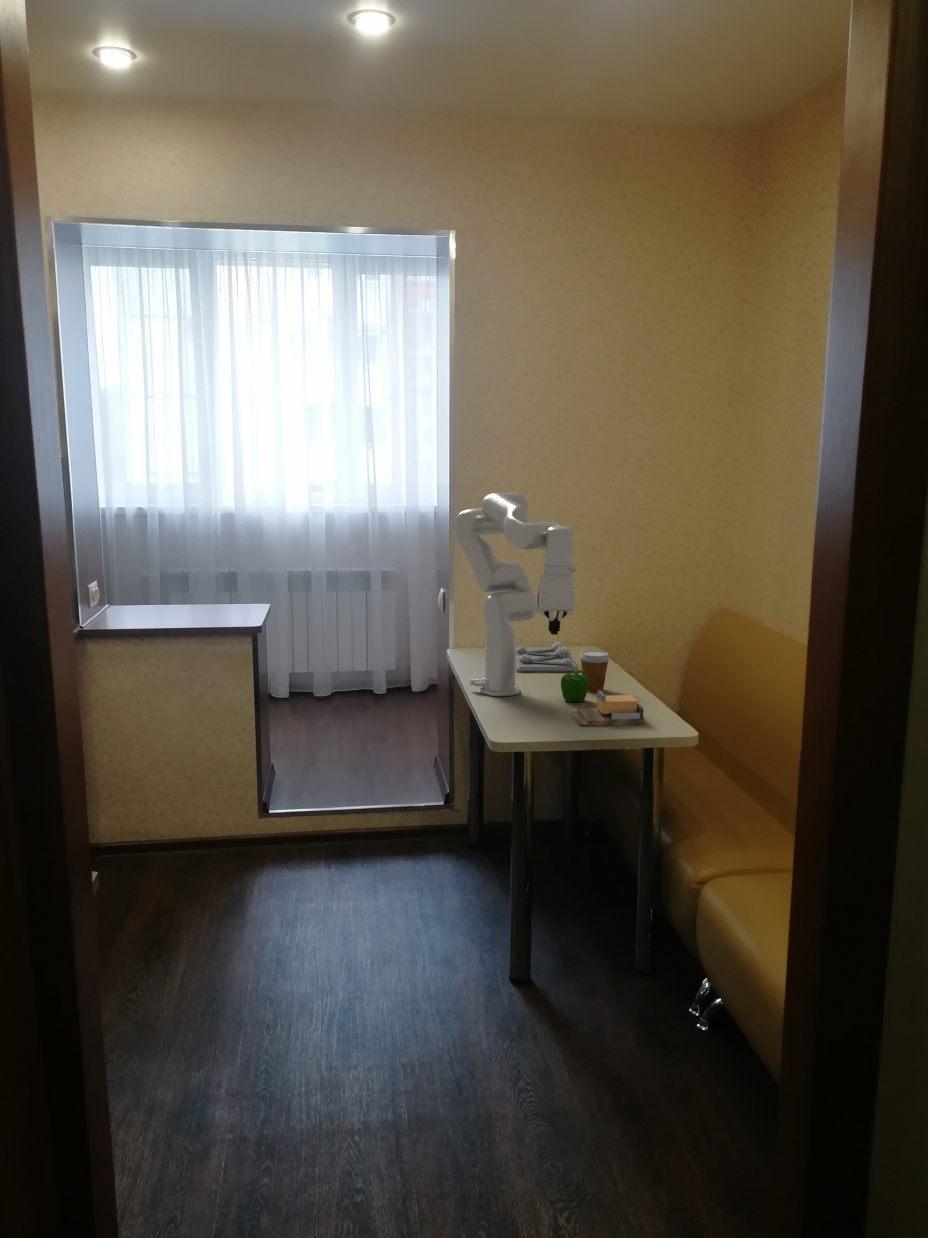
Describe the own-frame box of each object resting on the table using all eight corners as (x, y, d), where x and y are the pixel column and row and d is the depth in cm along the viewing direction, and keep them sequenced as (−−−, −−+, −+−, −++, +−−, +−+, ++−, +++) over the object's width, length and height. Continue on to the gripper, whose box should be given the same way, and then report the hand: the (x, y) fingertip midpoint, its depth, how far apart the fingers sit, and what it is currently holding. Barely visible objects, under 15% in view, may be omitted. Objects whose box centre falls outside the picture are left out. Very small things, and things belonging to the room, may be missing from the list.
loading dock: (580, 726, 259) (580, 710, 258) (570, 713, 270) (571, 698, 270) (643, 724, 261) (644, 709, 260) (631, 712, 272) (632, 697, 271)
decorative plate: (509, 654, 348) (509, 635, 347) (566, 654, 349) (567, 635, 347) (516, 674, 318) (517, 653, 317) (579, 674, 319) (580, 653, 318)
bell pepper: (554, 699, 285) (555, 668, 284) (573, 695, 290) (574, 664, 288) (573, 706, 279) (574, 673, 277) (593, 701, 284) (594, 669, 282)
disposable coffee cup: (607, 694, 292) (609, 657, 289) (577, 692, 294) (578, 655, 291) (609, 686, 301) (610, 650, 299) (579, 685, 303) (580, 649, 300)
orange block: (601, 717, 262) (602, 696, 261) (596, 711, 268) (597, 690, 267) (636, 717, 263) (637, 695, 262) (630, 710, 269) (631, 689, 268)
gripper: (580, 568, 267) (576, 630, 271) (529, 567, 265) (525, 630, 270) (586, 573, 260) (582, 637, 264) (533, 572, 258) (530, 636, 262)
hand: (553, 633), depth 267 cm, fingers closed
